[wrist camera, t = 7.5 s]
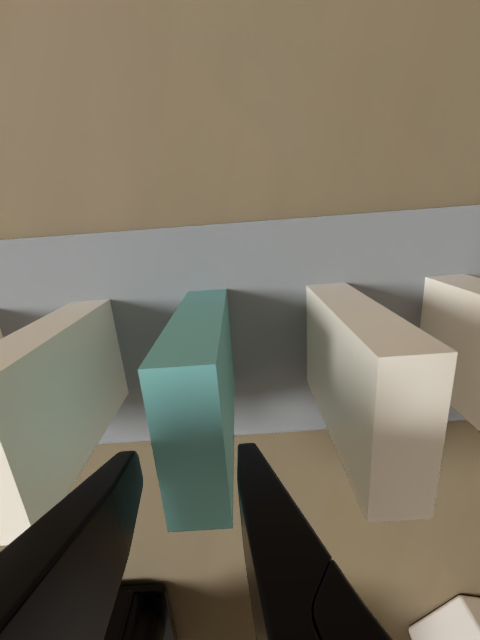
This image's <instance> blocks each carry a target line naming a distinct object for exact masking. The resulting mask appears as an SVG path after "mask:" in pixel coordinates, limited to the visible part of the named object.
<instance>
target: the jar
mask: <svg viewBox="0 0 480 640" xmlns="http://www.w3.org/2000/svg"><path fill="white" fill-rule="evenodd" d="M409 634H410V638H411V640H480V598H479V597H471V596H464V595H458V596H456V597H454V598H453V599H451V600H450V601H448V602H447V603H445V604H444V605H442V606H441V607H439V608H437V609H436V610H434V611H433V612H431V613H430V614H428V615H427V616H425V617H424V618H422V619H420V620H419V621H417V622H416V623H414V624H413V625H411V626H410V627H409Z"/></svg>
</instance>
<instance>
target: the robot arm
mask: <svg viewBox="0 0 480 640" xmlns="http://www.w3.org/2000/svg"><path fill="white" fill-rule="evenodd" d="M237 483H238V494H239V505H240V515H241V526H242V537H243V548H244V556H245V564H246V571H247V578H248V585H249V592H250V598H251V605H252V612H253V619H254V626H255V633H256V640H392V638H391V637H390V636H389V635H388V633H387V632H386V631H385V630H384V628H383V627H382V626H381V624H380V623H379V622H378V621H377V619H376V618H375V617H374V616H373V614H372V613H371V612H370V611H369V609H368V608H367V607H366V605H365V604H364V602H363V601H362V600H361V598H360V597H359V595H358V594H357V593H356V591H355V590H354V588H353V587H352V586H351V584H350V583H349V581H348V580H347V579H346V577H345V576H344V574H343V573H342V571H341V570H340V568H339V567H338V565H337V564H336V562H335V561H334V560H332V557H331V555H330V554H329V552H328V551H327V549H326V548H325V546H324V545H323V543H322V542H321V540H320V539H319V537H318V536H317V534H316V533H315V531H314V530H313V528H312V527H311V526H310V524H309V523H308V521H307V520H306V518H305V517H304V515H303V514H302V512H301V511H300V509H299V508H298V506H297V505H296V503H295V502H294V500H293V499H292V497H291V496H290V494H289V493H288V491H287V490H286V488H285V487H284V486H283V484H282V483H281V481H280V480H279V478H278V477H277V475H276V474H275V472H274V471H273V469H272V468H271V466H270V465H269V463H268V462H267V460H266V459H265V457H264V456H263V454H262V453H261V451H260V450H259V448H258V447H257V446H256V444H254V443H245V444H239V445H238V466H237ZM142 488H143V476H142V471H141V466H140V461H139V457H138V454H137V452H135V451H122V452H119V453H117V454H116V455H115V456H113V457H112V458H111V459H110V460H109V461H107V462H106V463H105V464H104V465H103V466H102V467H100V468H99V469H98V470H97V471H96V472H94V473H93V474H92V475H91V476H90V477H88V478H87V479H86V480H85V481H84V482H82V483H81V484H80V485H79V486H78V487H77V488H75V489H74V490H73V491H72V492H71V493H69V494H68V495H67V496H66V497H65V498H63V499H62V500H61V501H60V502H59V503H57V504H56V505H55V506H54V507H53V508H51V509H50V510H49V511H48V512H47V513H46V514H44V515H43V516H42V517H41V518H40V519H38V520H37V521H36V522H35V523H34V524H32V525H31V526H30V527H29V528H28V529H26V530H25V531H24V532H23V533H22V534H20V535H19V536H18V537H17V538H16V539H15V540H13V541H12V542H11V543H10V544H9V545H7V546H6V547H5V548H4V549H3V550H1V551H0V640H177V639H176V634H175V629H174V624H173V619H172V614H171V609H170V604H169V599H168V594H167V590H166V587H165V586H164V585H161V584H151V585H135V586H120V583H121V580H122V577H123V574H124V570H125V567H126V563H127V560H128V556H129V552H130V547H131V543H132V538H133V533H134V528H135V523H136V518H137V513H138V508H139V503H140V498H141V493H142Z"/></svg>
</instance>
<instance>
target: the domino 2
mask: <svg viewBox="0 0 480 640" xmlns="http://www.w3.org/2000/svg"><path fill="white" fill-rule="evenodd" d="M138 374H139V380H140V385H141V390H142V396H143V401H144V406H145V412H146V417H147V422H148V428H149V433H150V439H151V444H152V449H153V455H154V460H155V465H156V471H157V476H158V481H159V487H160V492H161V497H162V503H163V508H164V513H165V519H166V524H167V529H168V532H181V531H197V530H213V529H229V528H233V476H234V397H235V382H234V370H233V359H232V347H231V335H230V324H229V312H228V300H227V289H215V290H201V291H188V292H187V294H186V295H185V297H184V298H183V300H182V301H181V303H180V305H179V306H178V308H177V309H176V311H175V312H174V314H173V315H172V317H171V319H170V320H169V322H168V323H167V325H166V326H165V328H164V329H163V331H162V333H161V334H160V336H159V337H158V339H157V340H156V342H155V343H154V345H153V346H152V348H151V350H150V351H149V353H148V354H147V356H146V357H145V359H144V360H143V362H142V364H141V365H140V367H139V368H138Z"/></svg>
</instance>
